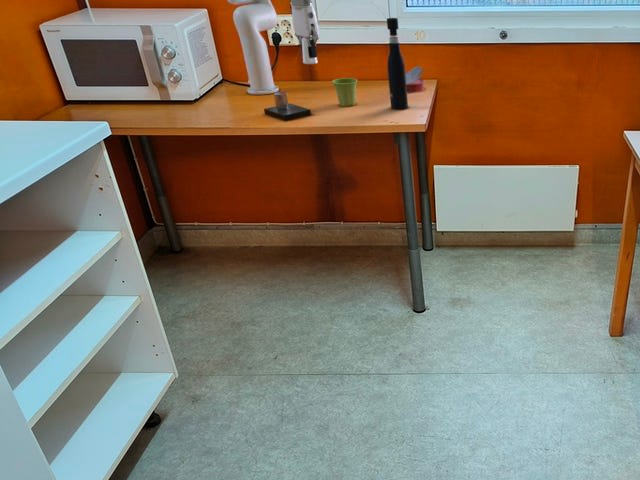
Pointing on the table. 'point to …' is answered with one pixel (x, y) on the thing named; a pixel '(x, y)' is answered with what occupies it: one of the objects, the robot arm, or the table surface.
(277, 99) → the hob knob
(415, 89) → the tissue box
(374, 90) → the table surface
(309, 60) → the pepper shaker
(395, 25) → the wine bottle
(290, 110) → the black knob panel
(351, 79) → the plant pot
